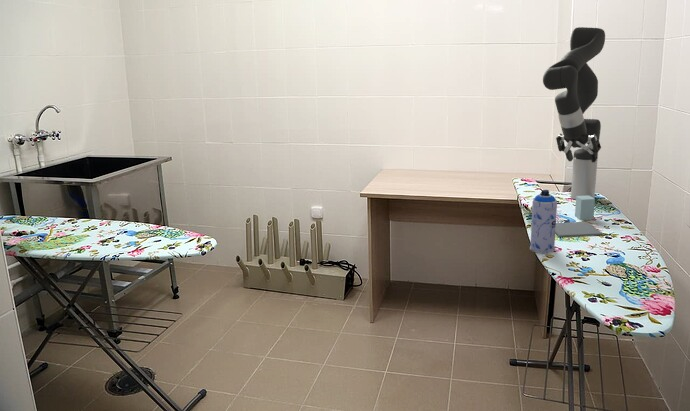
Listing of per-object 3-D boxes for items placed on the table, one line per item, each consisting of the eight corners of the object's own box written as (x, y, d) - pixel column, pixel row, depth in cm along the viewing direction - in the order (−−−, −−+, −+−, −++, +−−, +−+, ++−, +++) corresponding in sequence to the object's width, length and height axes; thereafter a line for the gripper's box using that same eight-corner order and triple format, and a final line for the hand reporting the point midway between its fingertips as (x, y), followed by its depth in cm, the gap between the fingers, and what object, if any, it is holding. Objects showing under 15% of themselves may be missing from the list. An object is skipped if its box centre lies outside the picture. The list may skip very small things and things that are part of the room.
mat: (546, 225, 210) (546, 223, 210) (587, 223, 210) (587, 221, 210) (559, 237, 197) (559, 235, 197) (602, 234, 197) (602, 233, 197)
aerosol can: (551, 254, 182) (555, 194, 176) (526, 251, 186) (529, 192, 181) (557, 247, 188) (560, 188, 183) (533, 243, 193) (535, 186, 187)
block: (574, 216, 218) (576, 196, 216) (587, 215, 218) (589, 195, 216) (580, 220, 214) (581, 199, 211) (593, 219, 214) (595, 199, 211)
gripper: (597, 114, 188) (607, 155, 196) (557, 115, 199) (568, 153, 207) (587, 127, 185) (597, 168, 192) (547, 127, 196) (558, 165, 203)
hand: (582, 160), depth 199 cm, fingers open, 8 cm apart
